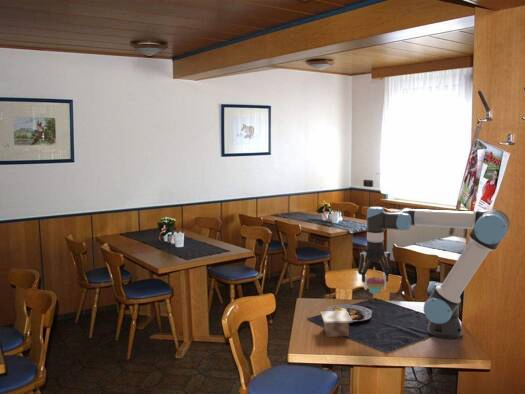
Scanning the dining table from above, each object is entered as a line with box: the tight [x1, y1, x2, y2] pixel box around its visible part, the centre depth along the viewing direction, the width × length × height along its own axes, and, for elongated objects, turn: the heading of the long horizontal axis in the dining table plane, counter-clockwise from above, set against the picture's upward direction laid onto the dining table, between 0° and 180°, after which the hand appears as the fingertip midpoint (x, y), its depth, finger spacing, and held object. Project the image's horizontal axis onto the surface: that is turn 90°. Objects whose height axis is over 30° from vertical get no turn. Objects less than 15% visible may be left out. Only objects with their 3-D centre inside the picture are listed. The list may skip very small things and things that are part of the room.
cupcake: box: [367, 267, 384, 295], centre depth 242 cm, size 9×8×12 cm
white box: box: [319, 310, 354, 338], centre depth 245 cm, size 13×13×8 cm
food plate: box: [325, 303, 373, 323], centre depth 266 cm, size 25×23×4 cm
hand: (374, 288), depth 243 cm, fingers closed on cupcake, 8 cm apart
